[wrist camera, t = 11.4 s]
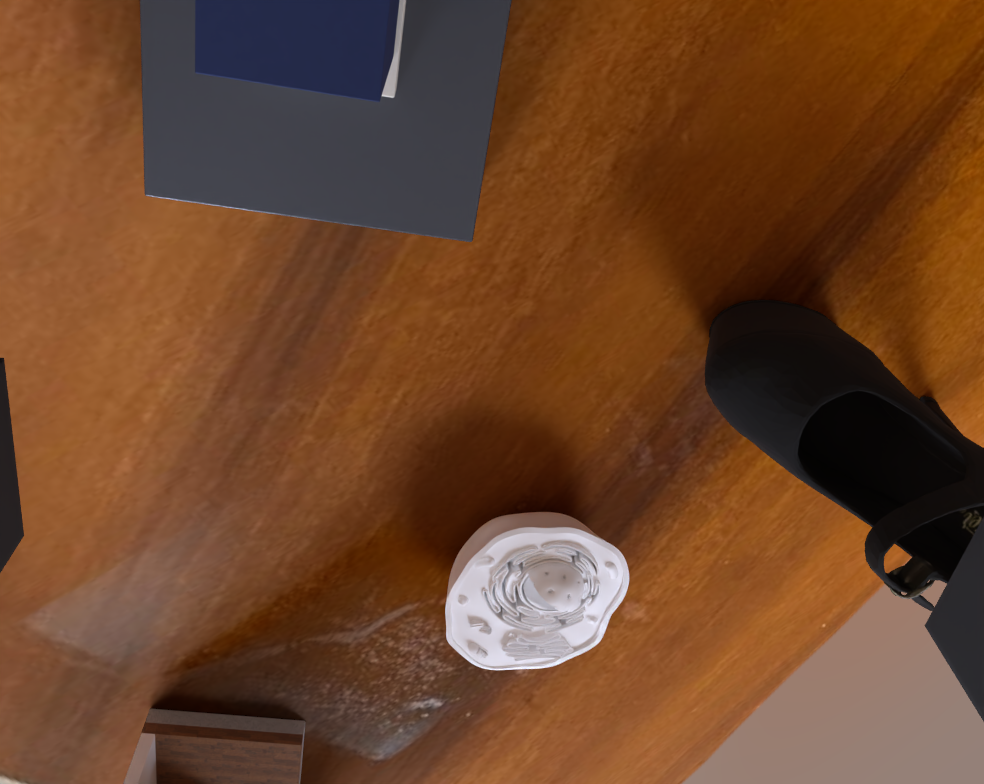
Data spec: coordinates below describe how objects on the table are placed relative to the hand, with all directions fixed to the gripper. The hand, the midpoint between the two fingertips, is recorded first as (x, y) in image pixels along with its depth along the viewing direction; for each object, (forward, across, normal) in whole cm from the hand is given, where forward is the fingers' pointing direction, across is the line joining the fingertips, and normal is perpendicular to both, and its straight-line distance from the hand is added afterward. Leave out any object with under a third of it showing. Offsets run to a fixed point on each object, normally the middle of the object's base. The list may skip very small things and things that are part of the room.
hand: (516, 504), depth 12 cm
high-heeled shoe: (+35, +22, -14) cm, 44 cm away
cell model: (+35, +8, -29) cm, 46 cm away
